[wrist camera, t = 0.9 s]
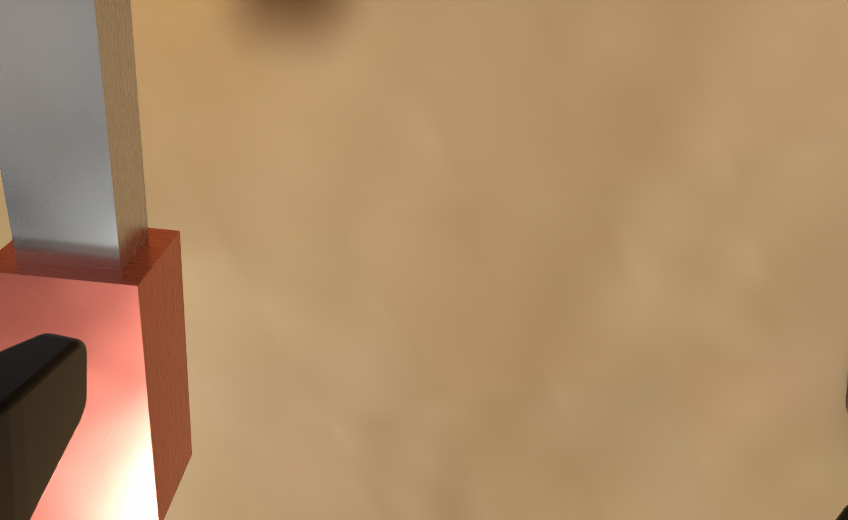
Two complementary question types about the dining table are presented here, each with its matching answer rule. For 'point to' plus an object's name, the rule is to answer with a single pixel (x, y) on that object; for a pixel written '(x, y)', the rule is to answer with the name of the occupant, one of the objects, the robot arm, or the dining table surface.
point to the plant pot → (847, 400)
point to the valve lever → (92, 254)
